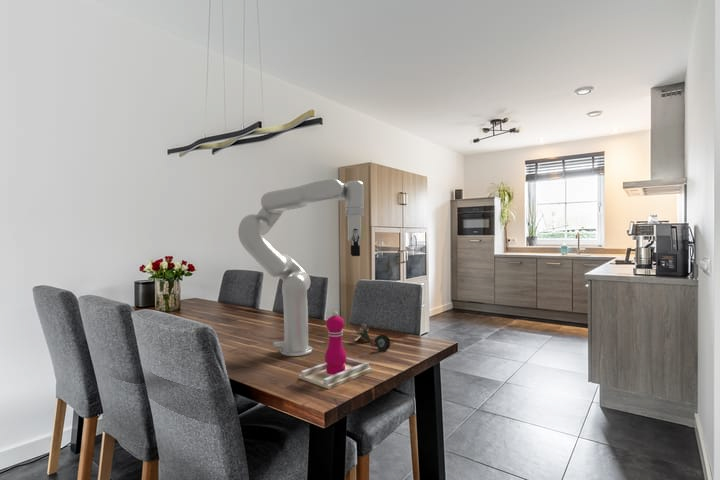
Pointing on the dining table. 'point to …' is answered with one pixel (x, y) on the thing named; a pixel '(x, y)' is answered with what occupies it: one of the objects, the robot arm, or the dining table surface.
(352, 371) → the rail board
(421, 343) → the dining table surface
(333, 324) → the pepper mill
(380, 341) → the artificial flower
